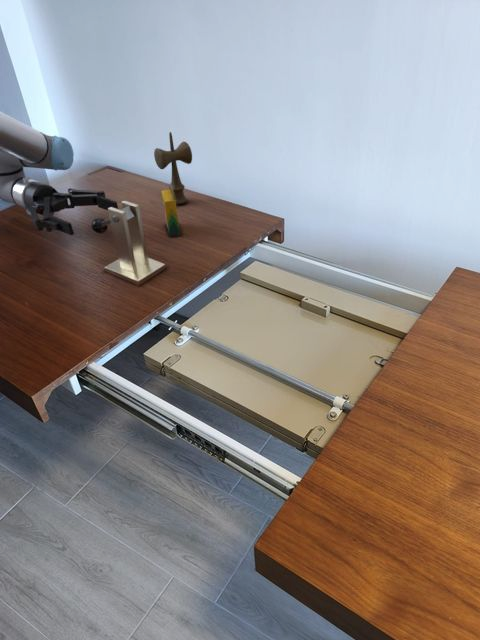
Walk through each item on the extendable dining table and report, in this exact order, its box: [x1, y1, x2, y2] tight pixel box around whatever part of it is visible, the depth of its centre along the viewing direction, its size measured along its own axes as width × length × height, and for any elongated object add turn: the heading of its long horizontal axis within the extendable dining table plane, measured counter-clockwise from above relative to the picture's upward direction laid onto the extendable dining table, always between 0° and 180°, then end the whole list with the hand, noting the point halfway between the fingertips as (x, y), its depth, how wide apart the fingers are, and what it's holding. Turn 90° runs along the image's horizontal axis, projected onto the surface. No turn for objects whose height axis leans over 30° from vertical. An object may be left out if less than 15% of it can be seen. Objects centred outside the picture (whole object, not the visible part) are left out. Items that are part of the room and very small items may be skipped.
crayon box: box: [161, 182, 181, 238], centre depth 124 cm, size 7×3×12 cm, turn 15°
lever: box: [90, 206, 134, 234], centre depth 107 cm, size 14×4×4 cm, turn 57°
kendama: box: [153, 131, 193, 206], centre depth 135 cm, size 6×10×20 cm, turn 126°
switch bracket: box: [103, 200, 167, 286], centre depth 107 cm, size 11×9×16 cm
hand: (94, 218), depth 110 cm, fingers open, 13 cm apart
